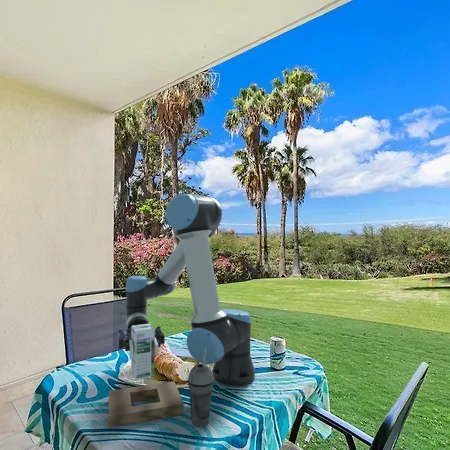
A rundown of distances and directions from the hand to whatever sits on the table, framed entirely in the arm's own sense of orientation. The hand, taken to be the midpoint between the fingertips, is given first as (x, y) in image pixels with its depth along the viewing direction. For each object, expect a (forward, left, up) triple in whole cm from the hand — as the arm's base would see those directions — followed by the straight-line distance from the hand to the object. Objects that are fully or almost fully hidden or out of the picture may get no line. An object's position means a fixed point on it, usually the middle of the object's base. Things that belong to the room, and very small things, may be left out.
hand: (144, 351), depth 94 cm
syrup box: (+3, -4, -9) cm, 11 cm away
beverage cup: (-17, -1, -18) cm, 25 cm away
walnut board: (+1, -3, -18) cm, 18 cm away
